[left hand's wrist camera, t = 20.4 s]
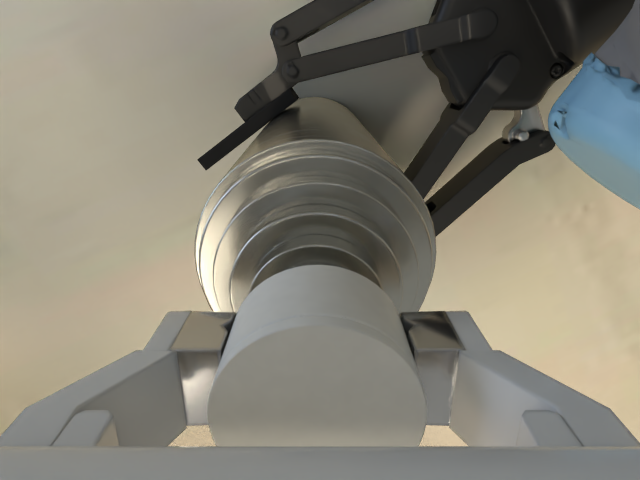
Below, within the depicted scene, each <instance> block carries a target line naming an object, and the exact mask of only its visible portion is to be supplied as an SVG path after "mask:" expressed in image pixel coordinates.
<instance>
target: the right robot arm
mask: <svg viewBox="0 0 640 480" xmlns="http://www.w3.org/2000/svg"><path fill="white" fill-rule="evenodd" d="M372 1H374V0H314V1H312V2H310V3H308V4H307V5H305V6H303V7H301V8H300V9H298V10H296V11H295V12H293V13H291V14H289V15H288V16H286V17H284V18H282V19H281V20H279V21H277V22H276V23H274V24H273V25H272V28H271V31H270V35H271V39H272V41H273V44H274V47H275V51H276V54H277V59H278V64H277V67H276V69H275V71H274V72H273V73H272V74H271V75H269V76H268V77H267V78H265V79H264V80H263V81H262V82H260V83H259V84H258V85H257V86H255V87H254V88H253V89H252V90H250V91H249V92H248V93H247V94H245V95H244V96H243V97H242V98H240V99H239V101H238V102H237V104H236V106H235V110H236V111H237V112H238V114H239V115H240V116H241V117H242V119H243V120H244V121H245V123H244V124H242V125H241V126H240V127H239V128H237V129H236V130H235V131H234V132H232V133H231V134H230V135H228V136H227V137H226V138H225V139H223V140H222V141H221V142H219V143H218V144H217V145H216V146H214V147H213V148H212V149H210V150H209V151H208V152H207V153H205V154H204V155H203V156H201V157H200V158H199V159H198V161H199V162H200V164H201V165H202V166H203V167H204V168H205V170H207V169H209V168H210V167H211V166H212V165H214V164H215V163H216V162H218V161H219V160H220V159H222V158H223V157H224V156H225V155H227V154H228V153H229V152H231V151H232V150H233V149H235V148H236V147H237V146H238V145H240V144H241V143H242V142H244V141H245V140H246V139H248V138H249V137H250V136H251V135H253V134H254V133H255V132H257V131H258V130H259V129H261V128H262V127H263V126H264V125H266V124H267V123H268V122H270V121H271V120H272V119H274V118H275V117H276V116H277V115H279V114H280V113H281V112H283V111H284V110H285V109H287V108H288V107H289V106H290V105H292V104H293V103H294V102H296V101H297V100H298V99H299V97H298V95H297V94H296V92H295V91H294V90H293V88H292V87H293V86H294V85H296V84H297V83H298V82H302V81H306V80H310V79H314V78H318V77H322V76H326V75H330V74H334V73H338V72H342V71H346V70H350V69H354V68H358V67H362V66H366V65H370V64H374V63H378V62H382V61H386V60H390V59H394V58H398V57H402V56H406V55H410V54H415V53H419V52H423V55H422V56H421V57H422V58H423V60H424V62H425V63H426V65H427V67H428V68H429V69H430V70H431V71H432V72H433V73H434V74H435V75H436V76H437V77H438V78H439V82H440V85H441V89H442V92H443V94H444V95H445V97H446V99H447V100H448V102H449V104H448V105H447V107H446V108H445V110H444V111H443V113H442V115H441V117H440V121H439V122H438V124H437V125H436V127H435V128H434V130H433V131H432V133H431V134H430V136H429V137H428V139H427V140H426V142H425V143H424V144H423V146H422V147H421V149H420V150H419V152H418V153H417V155H416V156H415V158H414V159H413V161H412V162H411V164H410V165H409V167H408V168H407V169H406V171H405V172H404V174H405V175H406V176H407V178H408V179H409V180H410V181H411V182H412V184H413V185H414V186H415V188H416V189H417V191H418V192H419V193H420V195H421V197H422V199H424V198H425V196H426V195H427V193H428V192H429V191H430V189H431V188H432V186H433V185H434V184H435V182H436V181H437V179H438V178H439V177H440V175H441V174H442V172H443V171H444V169H445V168H446V167H447V165H448V164H449V162H450V161H451V160H452V158H453V157H454V155H455V154H456V153H457V151H458V150H459V148H460V147H461V146H462V144H463V143H464V141H465V140H466V139H467V137H468V136H469V135H471V134H472V133H474V132H475V131H476V130H477V128H478V127H479V126H480V124H481V123H482V121H483V120H484V118H485V117H486V116H487V114H488V113H489V111H490V110H514V118H513V120H512V121H511V122H510V123H509V124H508V125H506V126H505V128H504V129H503V131H502V138H500V139H498V140H496V141H495V142H493V143H492V144H490V145H489V146H488V147H487V148H485V149H484V150H483V151H482V152H481V153H480V154H479V155H478V156H477V157H475V158H474V159H473V160H472V161H471V162H470V163H469V164H468V165H466V166H465V167H464V168H463V169H462V170H461V171H460V172H459V173H457V174H456V175H455V176H454V177H453V178H452V179H451V180H450V181H449V182H447V183H446V184H445V185H444V186H443V187H442V188H441V189H440V190H438V191H437V192H436V193H435V194H434V195H433V196H432V197H431V198H430V199H428V200H427V201H426V202H425V204H426V206H427V208H428V211H429V214H430V216H431V219H432V222H433V227H434V232H435V237H436V236H437V235H438V234H439V233H441V232H442V231H443V230H444V229H445V228H446V227H448V226H449V225H450V224H451V223H452V222H453V221H454V220H456V219H457V218H458V217H459V216H460V215H461V214H463V213H464V212H465V211H466V210H467V209H468V208H470V207H471V206H472V205H473V204H474V203H475V202H476V201H478V200H479V199H480V198H481V197H482V196H483V195H485V194H486V193H487V192H488V191H489V190H490V189H492V188H493V187H494V186H495V185H496V184H497V183H499V182H500V181H501V180H502V179H503V178H504V177H505V176H507V175H508V174H509V173H510V172H511V171H512V170H514V169H515V168H516V167H517V166H518V165H519V164H521V163H524V162H526V161H528V160H531V159H533V158H535V157H538V156H540V155H542V154H544V153H547V152H549V151H550V150H552V149H553V147H554V146H555V144H556V145H557V146H558V147H559V149H560V150H561V151H562V152H563V153H564V154H565V155H566V156H567V157H568V158H569V159H570V160H571V161H572V162H574V163H575V164H576V165H577V166H578V167H579V168H581V169H582V170H583V171H584V172H585V173H586V174H588V175H589V176H590V177H591V178H593V179H594V180H596V181H597V182H598V183H600V184H601V185H603V186H604V187H605V188H607V189H608V190H610V191H611V192H613V193H614V194H616V195H617V196H619V197H620V198H622V199H623V200H625V201H626V202H628V203H630V204H632V205H633V206H635V207H637V208H638V209H640V0H437V2H436V4H435V7H434V10H433V13H432V15H431V18H430V21H429V23H428V24H427V25H423V26H419V27H415V28H411V29H408V30H405V31H401V32H397V33H393V34H389V35H385V36H381V37H377V38H373V39H369V40H365V41H361V42H357V43H354V44H350V45H346V46H342V47H338V48H334V49H330V50H326V51H322V52H318V53H314V54H310V55H306V56H302V57H301V54H300V51H299V47H298V43H299V42H300V41H302V40H304V39H306V38H308V37H309V36H311V35H313V34H315V33H317V32H318V31H320V30H322V29H324V28H326V27H327V26H329V25H331V24H333V23H334V22H336V21H338V20H340V19H342V18H343V17H345V16H347V15H349V14H351V13H352V12H354V11H356V10H358V9H359V8H361V7H363V6H365V5H367V4H368V3H370V2H372ZM582 63H583V67H582V69H581V70H580V71H579V73H578V74H577V75H576V77H575V78H574V79H573V80H572V82H571V83H570V84H569V86H568V87H567V88H566V89H565V91H564V92H563V93H562V95H561V96H560V97H559V98H558V100H557V101H556V102H555V104H554V105H553V107H552V109H551V111H550V113H549V117H548V128H549V131H546V130H545V129H544V125H543V121H542V118H541V114H540V111H539V107H538V103H539V102H540V101H541V100H542V98H543V97H544V95H545V93H546V92H547V90H548V89H549V88H550V86H551V85H552V84H553V83H554V82H555V81H556V80H558V79H559V78H561V77H563V76H564V75H566V74H567V73H569V72H570V71H572V70H573V69H575V68H576V67H578V66H579V65H581V64H582Z"/></svg>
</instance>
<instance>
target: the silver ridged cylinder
mask: <svg viewBox="0 0 640 480" xmlns="http://www.w3.org/2000/svg"><path fill="white" fill-rule="evenodd" d="M435 260H436V237H435V232H434V227H433V222H432V219H431V216H430V214H429V211H428V208H427V206H426V204H425V202H424V200H423V199H422V197H421V195H420V193H419V192H418V191H417V189H416V188H415V186H414V185H413V184H412V182H411V181H410V180H409V179H408V178H407V176H406V175H405V174H404V173H403V172H402V171H401V169H400V168H399V167H398V166H397V165H396V164H395V162H394V161H393V160H392V159H391V158H390V156H389V155H388V154H387V153H386V152H385V151H384V149H383V148H382V147H381V146H380V145H379V144H378V142H377V141H376V140H375V139H374V138H373V137H372V135H371V134H370V133H369V132H368V131H367V130H366V128H365V127H364V126H363V125H362V124H361V123H360V121H359V120H358V119H357V118H356V117H355V116H354V114H353V113H352V112H351V111H350V110H348V109H347V108H346V107H345V106H343V105H342V104H340V103H338V102H336V101H334V100H331V99H327V98H323V97H307V98H302V99H298V100H297V101H296V102H294V103H293V104H292V105H290V106H289V107H288V108H287V109H285V110H284V111H283V112H281V113H280V114H279V115H277V116H276V117H275V118H274V119H272V120H271V121H270V122H269V123H268V124H267V125H266V126H265V128H264V129H263V130H262V131H261V132H260V134H259V135H258V136H257V137H256V139H255V140H254V141H253V142H252V143H251V145H250V146H249V147H248V148H247V150H246V151H245V152H244V153H243V154H242V156H241V157H240V158H239V159H238V160H237V162H236V163H235V164H234V165H233V167H232V168H231V169H230V170H229V171H228V173H227V174H226V175H225V176H224V178H223V179H222V180H221V181H220V182H219V184H218V185H217V186H216V188H215V189H214V191H213V192H212V194H211V195H210V197H209V198H208V200H207V202H206V204H205V206H204V208H203V210H202V213H201V216H200V219H199V222H198V226H197V231H196V237H195V262H196V270H197V274H198V278H199V281H200V284H201V287H202V289H203V292H204V294H205V296H206V299H207V301H208V304H209V306H210V308H211V309H212V311H213V312H236V313H237V312H238V310H239V308H240V306H241V304H242V303H243V301H244V300H245V299H246V297H247V296H248V295H249V294H250V293H251V292H252V291H253V290H254V289H255V288H256V287H257V286H258V285H259V284H261V283H262V282H263V281H265V280H266V279H268V278H270V277H271V276H273V275H275V274H277V273H280V272H282V271H285V270H288V269H291V268H295V267H300V266H306V265H328V266H337V267H341V268H344V269H347V270H350V271H353V272H356V273H358V274H360V275H362V276H364V277H366V278H367V279H369V280H370V281H372V282H373V283H375V284H376V285H377V286H378V287H380V288H381V289H382V290H383V291H384V292H385V293H386V295H387V296H388V297H389V298H390V299H391V301H392V302H393V304H394V306H395V307H396V309H397V311H398V314H399V313H401V312H418V311H419V309H420V307H421V305H422V303H423V301H424V299H425V296H426V293H427V291H428V288H429V286H430V283H431V281H432V277H433V272H434V268H435Z"/></svg>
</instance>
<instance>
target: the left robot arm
mask: <svg viewBox="0 0 640 480" xmlns="http://www.w3.org/2000/svg"><path fill="white" fill-rule="evenodd" d="M236 314H237V313H236V312H210V311H193V312H192V311H170V312H168V313H167V314H166V315H165V317H164V319H163V320H162V322H161V323H160V325H159V326H158V328H157V329H156V331H155V332H154V334H153V336H152V337H151V339H150V340H149V342H148V343H147V345H146V346H145V348H144V349H143V350H136V351H134V352H132V353H130V354H128V355H126V356H124V357H122V358H121V359H119V360H117V361H115V362H113V363H111V364H109V365H107V366H105V367H103V368H101V369H99V370H98V371H96V372H94V373H92V374H90V375H88V376H86V377H84V378H82V379H80V380H78V381H76V382H75V383H73V384H71V385H69V386H67V387H65V388H63V389H61V390H59V391H57V392H55V393H53V394H52V395H50V396H48V397H46V398H44V399H42V400H40V401H38V402H36V403H34V404H32V405H30V406H29V407H27V408H25V409H24V410H23V411H22V413H21V414H20V415H19V416H18V417H17V418H16V419H15V420H14V422H13V423H12V424H11V425H10V426H9V427H8V428H7V429H6V431H5V432H4V433H3V434H2V435H1V436H0V480H640V443H639V442H638V440H637V439H636V438H635V437H634V436H633V435H632V434H631V432H630V431H629V430H628V429H627V428H626V427H625V425H624V424H623V423H622V422H621V421H620V420H619V418H618V417H617V416H616V415H615V414H614V413H613V412H612V410H611V409H610V408H608V407H606V406H604V405H602V404H600V403H598V402H596V401H594V400H593V399H591V398H589V397H587V396H585V395H583V394H581V393H579V392H577V391H576V390H574V389H572V388H570V387H568V386H566V385H564V384H562V383H560V382H558V381H557V380H555V379H553V378H551V377H549V376H547V375H545V374H543V373H541V372H540V371H538V370H536V369H534V368H532V367H530V366H528V365H526V364H524V363H523V362H521V361H519V360H517V359H515V358H513V357H511V356H509V355H507V354H506V353H504V352H502V351H500V350H492V348H491V347H490V345H489V344H488V342H487V340H486V339H485V337H484V336H483V334H482V333H481V331H480V330H479V328H478V326H477V325H476V323H475V322H474V320H473V319H472V317H471V316H470V314H469V312H467V311H433V312H401V313H399V316H400V318H401V321H402V324H403V327H404V330H405V333H406V336H407V339H408V342H409V345H410V348H411V351H412V354H413V357H414V360H415V363H416V366H417V369H418V372H419V376H420V378H421V381H422V384H423V387H424V391H425V395H426V399H427V410H428V411H427V422H426V425H443V426H449V428H450V429H451V430H452V431H454V432H455V433H456V434H457V435H458V436H459V437H460V438H461V439H462V440H463V441H464V442H465V443H466V444H467V445H468V446H168V445H169V444H170V443H171V442H172V441H173V440H174V439H175V438H176V437H177V436H179V435H180V434H181V433H182V432H183V431H184V430H185V429H186V426H193V425H209V424H208V417H207V404H208V398H209V393H210V390H211V387H212V384H213V381H214V378H215V375H216V372H217V369H218V366H219V363H220V361H221V358H222V355H223V352H224V349H225V346H226V343H227V340H228V337H229V334H230V331H231V328H232V326H233V323H234V320H235V317H236Z"/></svg>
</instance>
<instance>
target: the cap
mask: <svg viewBox="0 0 640 480" xmlns="http://www.w3.org/2000/svg"><path fill="white" fill-rule="evenodd" d="M427 411H428V410H427V399H426V395H425V391H424V387H423V384H422V381H421V378H420V376H419V372H418V369H417V366H416V363H415V360H414V357H413V354H412V351H411V348H410V345H409V342H408V339H407V336H406V333H405V330H404V327H403V324H402V321H401V318H400V316H399V314H398V311H397V309H396V307H395V306H394V304H393V302H392V301H391V299H390V298H389V297H388V296H387V295H386V293H385V292H384V291H383V290H382V289H381V288H380V287H378V286H377V285H376V284H375V283H373V282H372V281H370V280H369V279H367V278H366V277H364V276H362V275H360V274H358V273H356V272H353V271H350V270H347V269H344V268H341V267H337V266H328V265H306V266H300V267H295V268H291V269H288V270H285V271H282V272H280V273H277V274H275V275H273V276H271V277H270V278H268V279H266V280H265V281H263V282H262V283H261V284H259V285H258V286H257V287H256V288H255V289H254V290H253V291H252V292H251V293H250V294H249V295H248V296H247V297H246V299H245V300H244V301H243V303H242V304H241V306H240V308H239V310H238V312H237V314H236V317H235V320H234V323H233V326H232V328H231V331H230V334H229V337H228V340H227V343H226V346H225V349H224V352H223V355H222V358H221V361H220V363H219V366H218V369H217V372H216V375H215V378H214V381H213V384H212V387H211V390H210V393H209V398H208V404H207V417H208V424H209V429H210V432H211V435H212V438H213V440H214V442H215V444H216V446H419V444H420V442H421V439H422V437H423V434H424V431H425V427H426V422H427Z"/></svg>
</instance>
